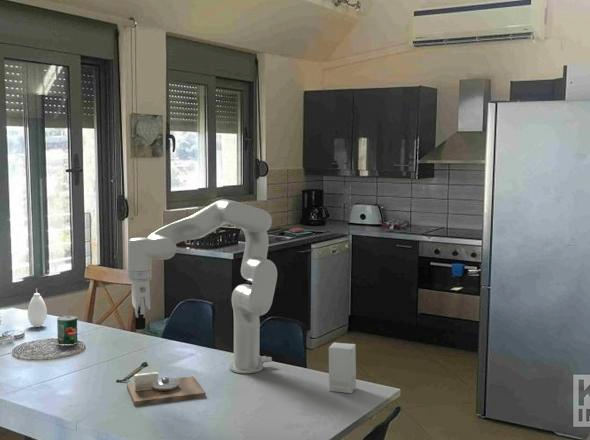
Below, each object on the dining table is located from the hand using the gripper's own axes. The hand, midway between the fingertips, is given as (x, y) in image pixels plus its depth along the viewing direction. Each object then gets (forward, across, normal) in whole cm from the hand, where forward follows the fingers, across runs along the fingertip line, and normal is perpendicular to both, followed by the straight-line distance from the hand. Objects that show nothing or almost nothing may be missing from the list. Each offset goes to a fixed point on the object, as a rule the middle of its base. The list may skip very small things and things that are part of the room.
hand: (140, 328), depth 229 cm
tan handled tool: (+22, +17, -2) cm, 27 cm away
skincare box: (+21, -23, -64) cm, 72 cm away
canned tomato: (+21, +64, +20) cm, 70 cm away
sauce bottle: (+21, +95, +31) cm, 102 cm away
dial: (+19, -5, -5) cm, 20 cm away
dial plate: (+21, -5, -7) cm, 23 cm away
